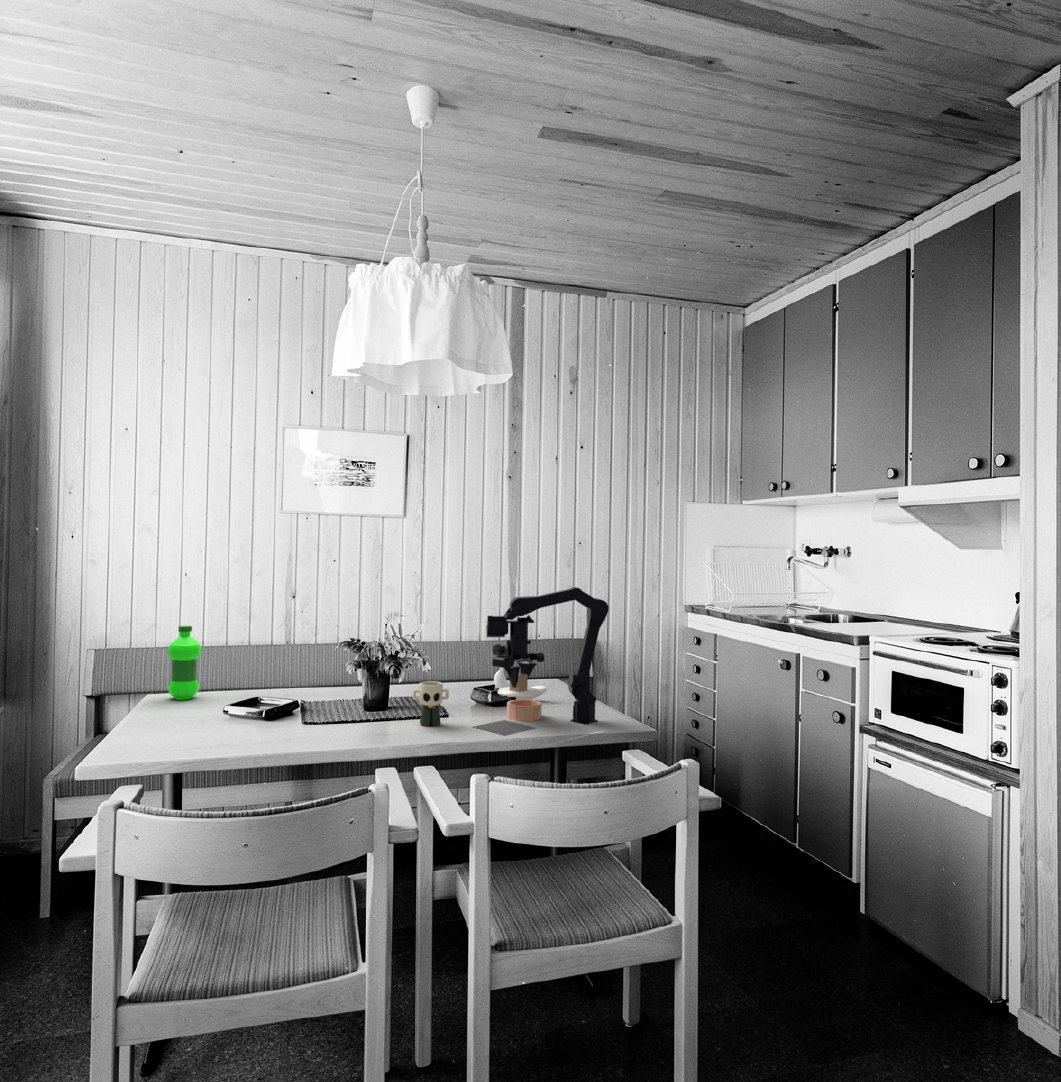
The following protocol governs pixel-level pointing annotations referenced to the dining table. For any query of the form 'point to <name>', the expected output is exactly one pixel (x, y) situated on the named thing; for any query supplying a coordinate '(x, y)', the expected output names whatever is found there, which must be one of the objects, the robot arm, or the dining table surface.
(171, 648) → the plastic bottle
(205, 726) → the dining table surface
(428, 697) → the character mug
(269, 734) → the dining table surface
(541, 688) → the banana
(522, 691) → the lid
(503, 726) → the mat
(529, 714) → the faceted tan prism
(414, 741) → the dining table surface
